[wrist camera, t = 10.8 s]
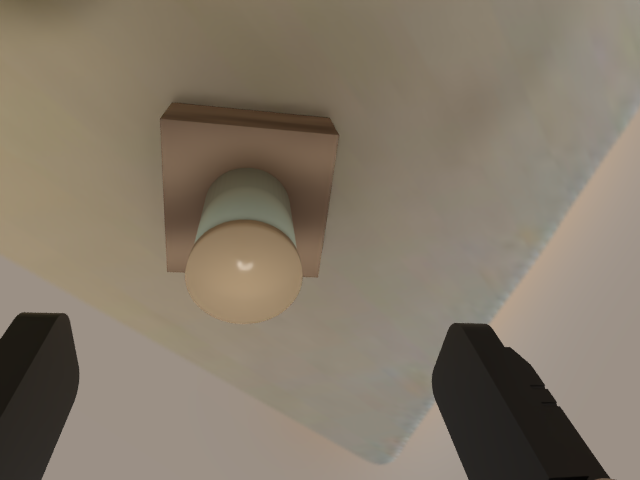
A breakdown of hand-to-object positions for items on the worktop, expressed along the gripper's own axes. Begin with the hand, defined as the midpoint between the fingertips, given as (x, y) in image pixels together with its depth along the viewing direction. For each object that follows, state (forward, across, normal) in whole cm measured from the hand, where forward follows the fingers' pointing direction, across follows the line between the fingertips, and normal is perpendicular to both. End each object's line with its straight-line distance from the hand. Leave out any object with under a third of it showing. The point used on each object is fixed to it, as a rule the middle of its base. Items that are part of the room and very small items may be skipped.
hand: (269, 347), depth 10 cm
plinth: (+22, 0, +6) cm, 23 cm away
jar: (+18, 0, +6) cm, 19 cm away
